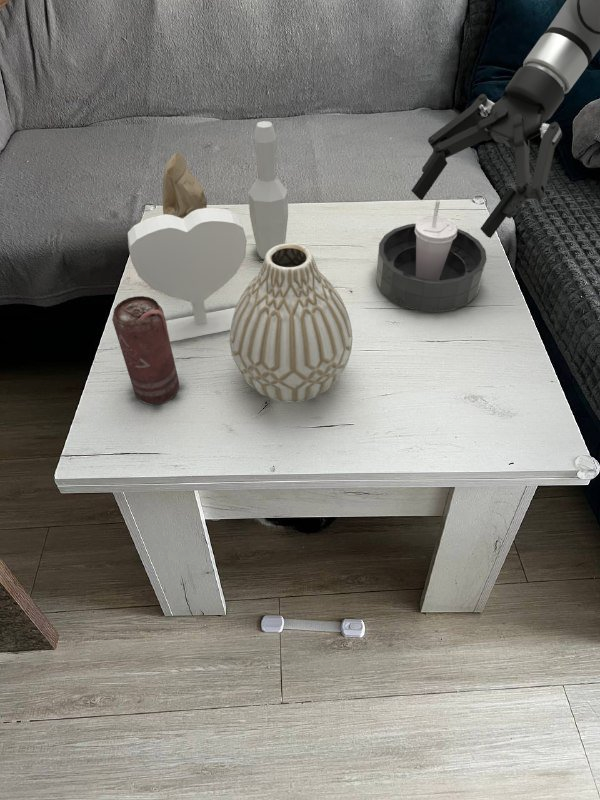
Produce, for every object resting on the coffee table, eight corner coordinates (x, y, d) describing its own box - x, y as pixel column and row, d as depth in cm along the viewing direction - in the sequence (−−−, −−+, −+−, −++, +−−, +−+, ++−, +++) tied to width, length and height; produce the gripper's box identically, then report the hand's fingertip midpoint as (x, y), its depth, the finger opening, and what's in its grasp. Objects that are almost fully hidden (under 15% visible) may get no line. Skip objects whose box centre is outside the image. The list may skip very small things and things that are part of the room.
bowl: (497, 280, 99) (506, 248, 94) (440, 329, 91) (447, 297, 86) (414, 242, 106) (419, 212, 102) (355, 284, 98) (357, 253, 94)
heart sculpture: (247, 305, 95) (237, 199, 82) (254, 325, 92) (245, 218, 78) (148, 324, 92) (121, 218, 79) (152, 345, 89) (125, 238, 75)
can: (179, 405, 80) (161, 324, 70) (132, 407, 80) (106, 326, 70) (183, 373, 84) (166, 292, 74) (137, 375, 84) (114, 294, 74)
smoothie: (400, 273, 99) (410, 194, 89) (432, 264, 101) (447, 185, 91) (421, 295, 95) (435, 215, 85) (455, 284, 97) (472, 205, 87)
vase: (213, 370, 85) (193, 248, 70) (303, 326, 91) (302, 205, 77) (278, 440, 76) (271, 317, 61) (373, 386, 82) (387, 262, 68)
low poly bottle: (287, 241, 107) (283, 114, 91) (291, 261, 103) (288, 132, 87) (251, 243, 107) (241, 116, 91) (254, 264, 102) (244, 134, 86)
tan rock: (206, 299, 96) (187, 180, 81) (162, 295, 97) (136, 177, 82) (225, 254, 105) (212, 139, 90) (185, 250, 105) (165, 136, 91)
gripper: (628, 124, 80) (525, 261, 84) (482, 72, 93) (401, 192, 98) (620, 91, 74) (509, 240, 78) (466, 40, 87) (380, 170, 92)
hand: (449, 214), depth 88 cm, fingers open, 13 cm apart
